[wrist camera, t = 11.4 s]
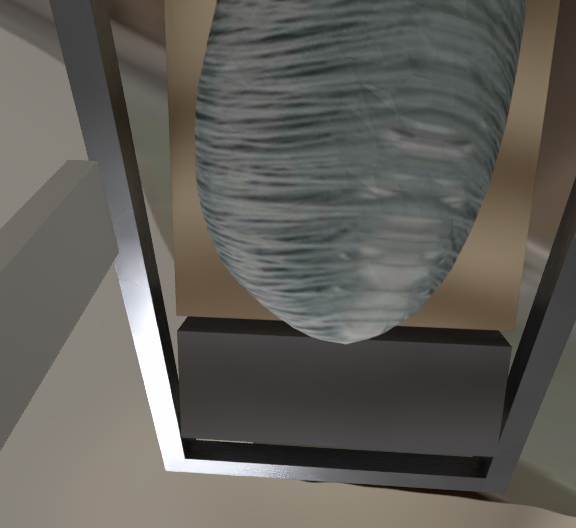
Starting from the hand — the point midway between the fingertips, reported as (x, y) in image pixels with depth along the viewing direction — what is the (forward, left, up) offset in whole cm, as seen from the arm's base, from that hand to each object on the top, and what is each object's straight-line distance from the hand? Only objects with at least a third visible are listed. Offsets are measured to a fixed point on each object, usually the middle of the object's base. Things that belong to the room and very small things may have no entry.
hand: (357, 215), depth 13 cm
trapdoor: (0, +6, -12) cm, 14 cm away
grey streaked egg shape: (0, 0, -8) cm, 8 cm away
